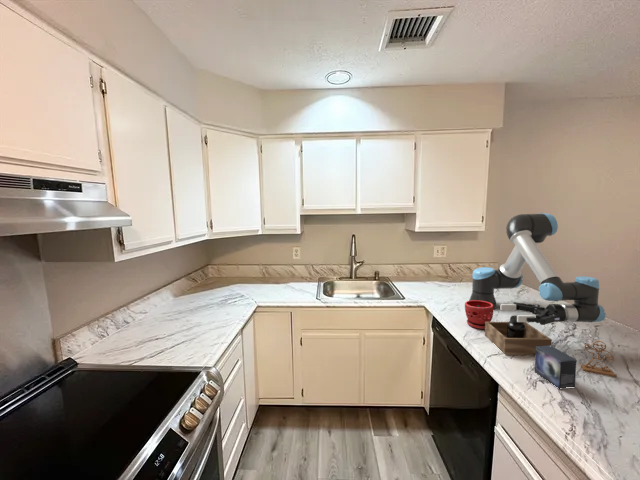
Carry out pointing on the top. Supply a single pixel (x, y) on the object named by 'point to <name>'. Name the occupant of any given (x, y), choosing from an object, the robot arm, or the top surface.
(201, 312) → the top surface
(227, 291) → the top surface
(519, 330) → the supplement bottle
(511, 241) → the robot arm
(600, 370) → the gingerbread man figurine
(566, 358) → the small box
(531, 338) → the walnut box
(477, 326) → the plant pot
